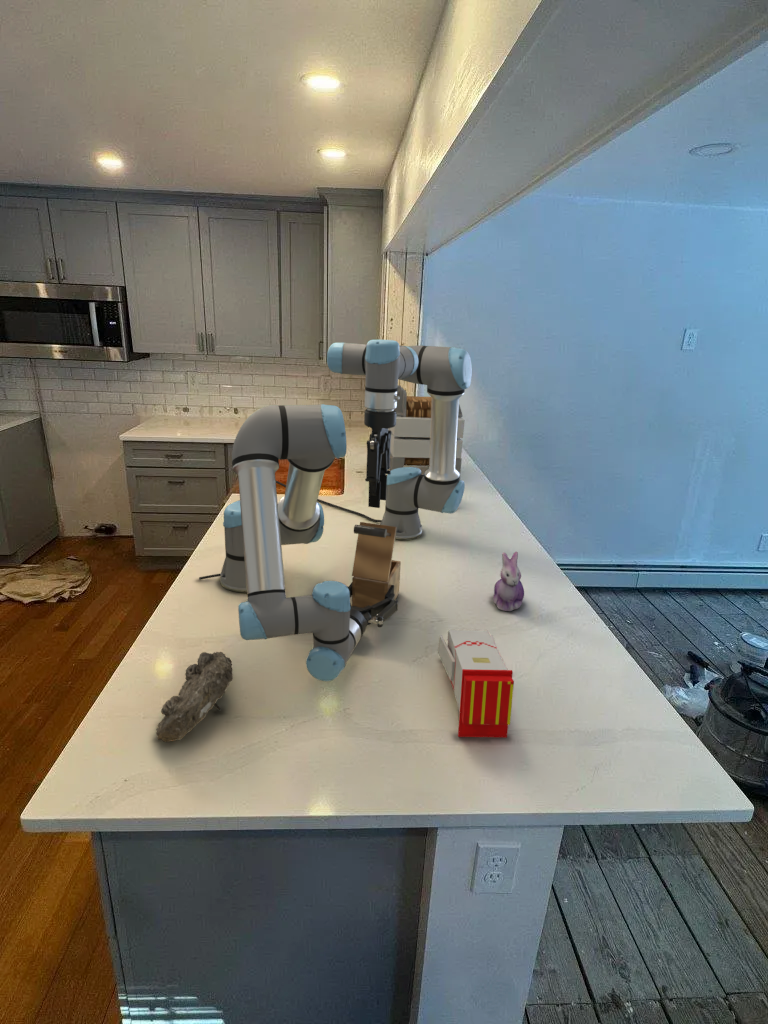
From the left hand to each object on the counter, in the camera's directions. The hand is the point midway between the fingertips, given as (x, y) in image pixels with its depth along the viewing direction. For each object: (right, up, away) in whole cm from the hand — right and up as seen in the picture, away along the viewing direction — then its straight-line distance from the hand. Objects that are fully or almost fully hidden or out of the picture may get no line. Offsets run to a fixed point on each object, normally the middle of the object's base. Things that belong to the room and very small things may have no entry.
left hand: (373, 586), depth 148 cm
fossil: (-33, -19, -38) cm, 53 cm away
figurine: (+37, -6, +7) cm, 38 cm away
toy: (+21, -18, -30) cm, 40 cm away
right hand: (+1, +22, -8) cm, 23 cm away
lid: (0, +9, -4) cm, 10 cm away
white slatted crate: (+20, +38, +127) cm, 134 cm away
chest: (+1, -5, +5) cm, 7 cm away
